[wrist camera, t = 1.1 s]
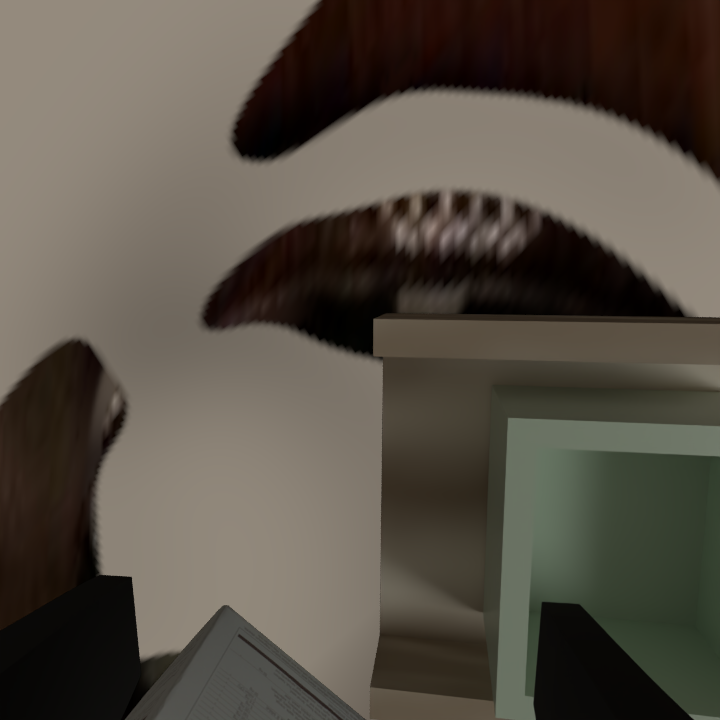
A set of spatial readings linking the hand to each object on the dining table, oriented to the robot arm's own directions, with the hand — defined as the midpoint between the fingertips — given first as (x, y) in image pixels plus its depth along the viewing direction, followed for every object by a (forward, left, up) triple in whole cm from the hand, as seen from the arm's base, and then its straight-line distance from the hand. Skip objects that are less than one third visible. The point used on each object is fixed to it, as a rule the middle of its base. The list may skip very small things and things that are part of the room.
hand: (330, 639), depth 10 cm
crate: (-2, -8, -12) cm, 14 cm away
